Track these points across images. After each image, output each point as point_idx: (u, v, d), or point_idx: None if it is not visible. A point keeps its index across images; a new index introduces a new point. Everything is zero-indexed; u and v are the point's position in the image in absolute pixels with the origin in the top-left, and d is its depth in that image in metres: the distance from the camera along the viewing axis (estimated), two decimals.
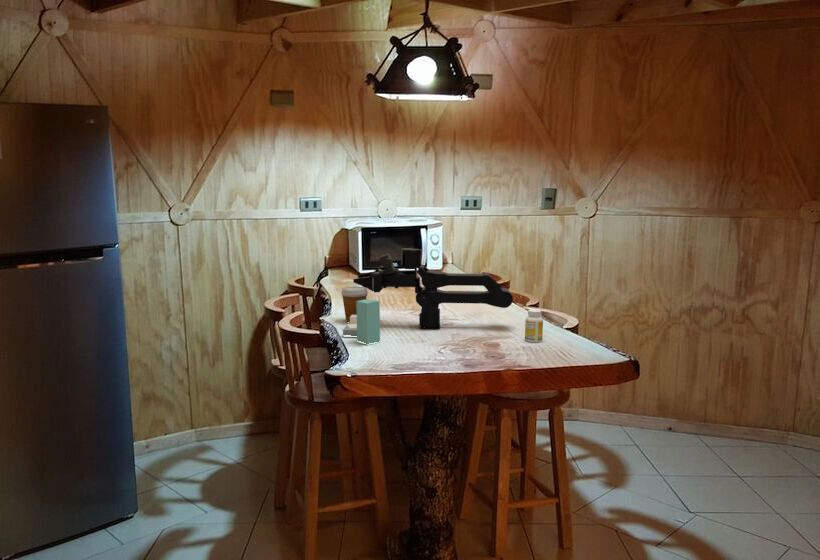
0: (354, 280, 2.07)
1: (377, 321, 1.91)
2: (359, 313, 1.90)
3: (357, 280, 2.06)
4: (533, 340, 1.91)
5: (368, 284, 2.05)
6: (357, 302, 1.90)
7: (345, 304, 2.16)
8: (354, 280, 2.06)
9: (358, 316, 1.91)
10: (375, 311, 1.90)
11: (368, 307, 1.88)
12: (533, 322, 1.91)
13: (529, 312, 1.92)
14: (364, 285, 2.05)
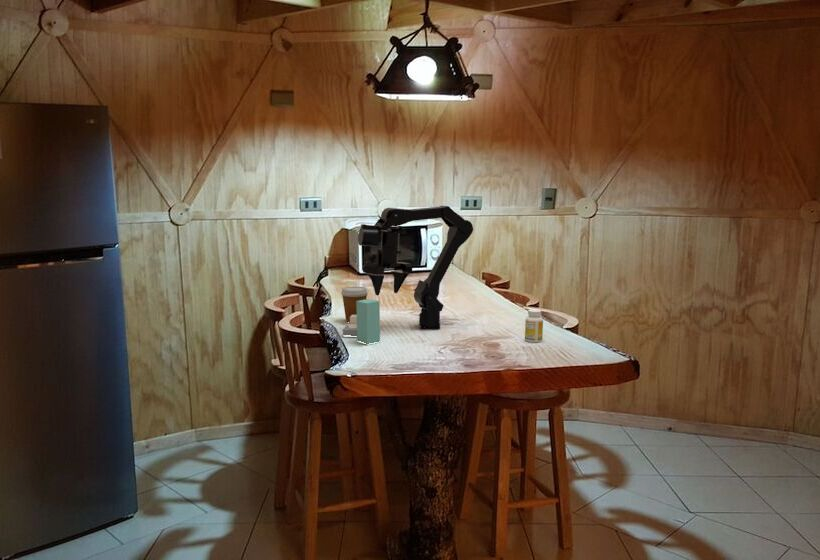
0: (376, 293, 2.00)
1: (377, 321, 1.91)
2: (359, 313, 1.90)
3: (375, 290, 2.00)
4: (533, 340, 1.91)
5: (377, 279, 1.98)
6: (357, 302, 1.90)
7: (345, 304, 2.16)
8: (376, 294, 2.00)
9: (358, 316, 1.91)
10: (375, 311, 1.90)
11: (368, 307, 1.88)
12: (533, 322, 1.91)
13: (529, 312, 1.92)
14: (378, 284, 1.98)
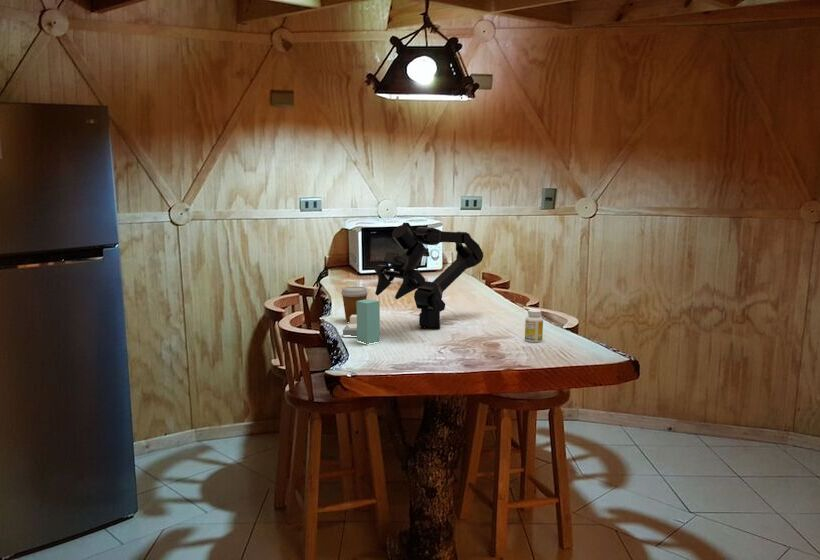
0: (396, 297, 1.92)
1: (377, 321, 1.91)
2: (359, 313, 1.90)
3: (399, 294, 1.92)
4: (533, 340, 1.91)
5: (409, 287, 1.94)
6: (357, 302, 1.90)
7: (345, 304, 2.16)
8: (396, 297, 1.92)
9: (358, 316, 1.91)
10: (375, 311, 1.90)
11: (368, 307, 1.88)
12: (533, 322, 1.90)
13: (529, 312, 1.92)
14: (407, 291, 1.94)
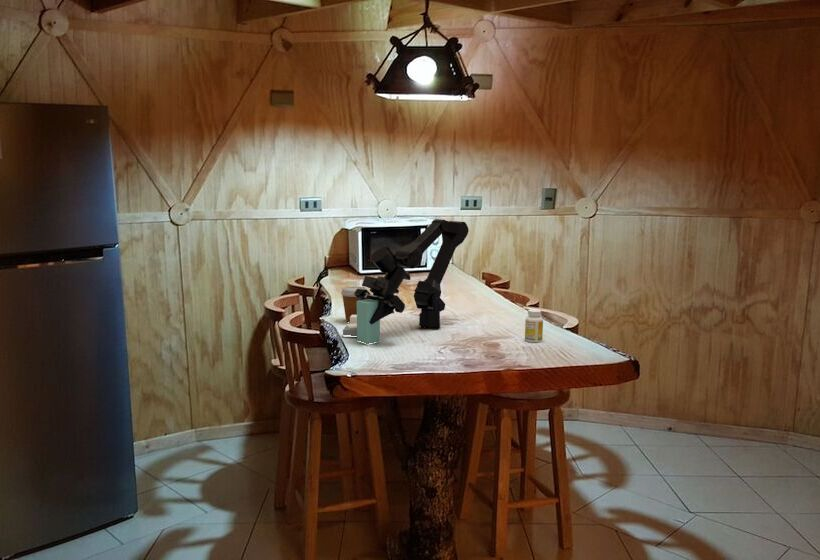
0: (371, 322, 1.89)
1: (377, 321, 1.91)
2: (359, 313, 1.90)
3: (374, 319, 1.89)
4: (533, 340, 1.91)
5: (384, 312, 1.90)
6: (357, 302, 1.90)
7: (345, 304, 2.16)
8: (371, 322, 1.89)
9: (358, 316, 1.91)
10: None
11: (368, 307, 1.87)
12: (533, 322, 1.90)
13: (529, 312, 1.92)
14: (382, 316, 1.90)
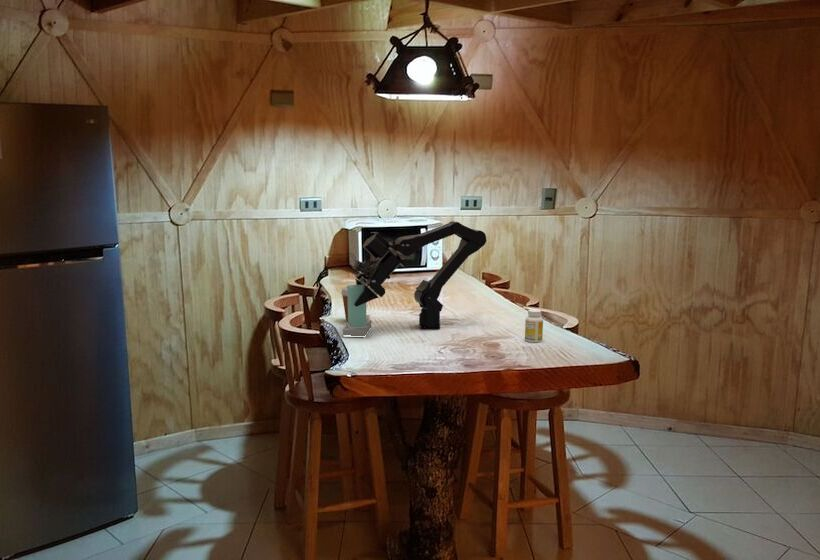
0: (356, 304, 1.98)
1: (363, 306, 2.01)
2: (348, 297, 2.02)
3: (358, 302, 1.98)
4: (533, 340, 1.91)
5: (369, 296, 1.98)
6: (347, 286, 2.03)
7: (345, 304, 2.16)
8: (355, 304, 1.98)
9: (348, 300, 2.03)
10: None
11: (351, 291, 1.99)
12: (533, 322, 1.90)
13: (529, 312, 1.92)
14: (367, 300, 1.98)
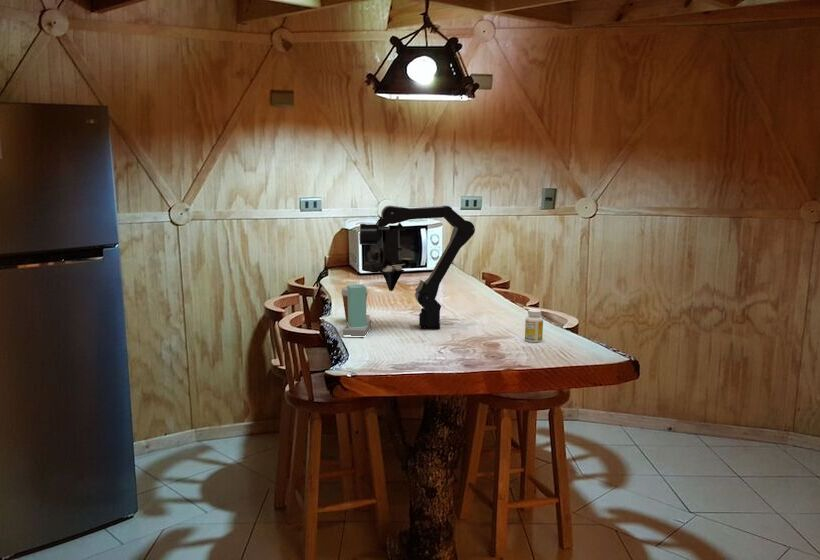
0: (390, 289, 2.07)
1: (363, 306, 2.01)
2: (348, 297, 2.02)
3: (388, 286, 2.07)
4: (533, 340, 1.91)
5: (389, 276, 2.05)
6: (347, 286, 2.03)
7: (345, 304, 2.16)
8: (389, 289, 2.08)
9: (348, 300, 2.03)
10: (360, 296, 2.00)
11: (351, 291, 1.99)
12: (533, 322, 1.90)
13: (529, 312, 1.92)
14: (389, 280, 2.05)
